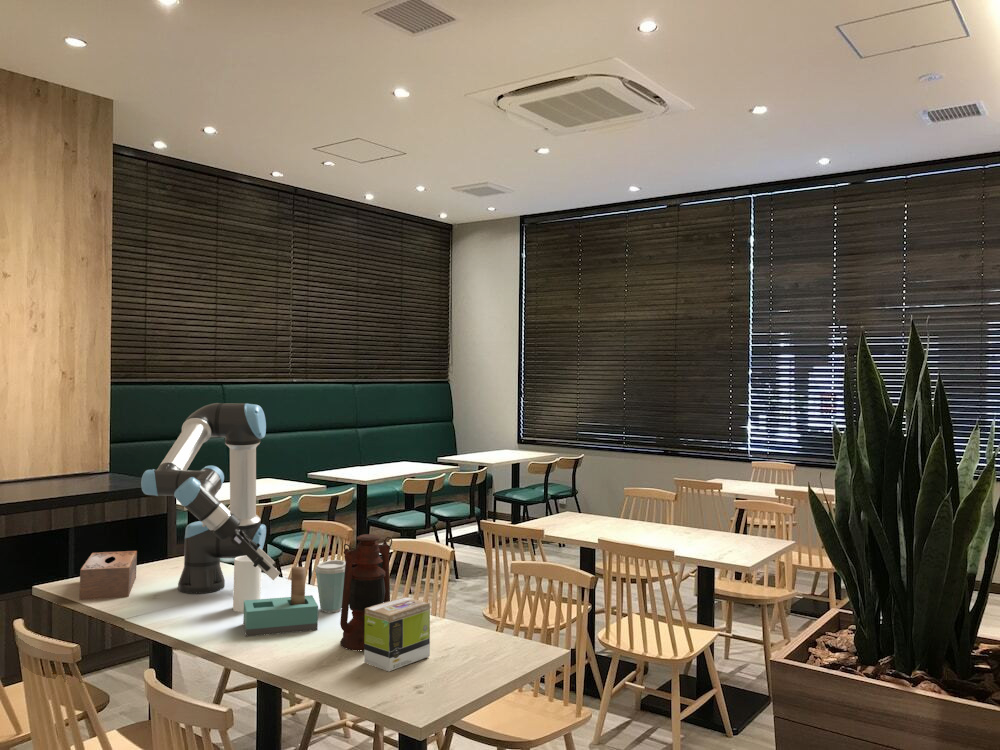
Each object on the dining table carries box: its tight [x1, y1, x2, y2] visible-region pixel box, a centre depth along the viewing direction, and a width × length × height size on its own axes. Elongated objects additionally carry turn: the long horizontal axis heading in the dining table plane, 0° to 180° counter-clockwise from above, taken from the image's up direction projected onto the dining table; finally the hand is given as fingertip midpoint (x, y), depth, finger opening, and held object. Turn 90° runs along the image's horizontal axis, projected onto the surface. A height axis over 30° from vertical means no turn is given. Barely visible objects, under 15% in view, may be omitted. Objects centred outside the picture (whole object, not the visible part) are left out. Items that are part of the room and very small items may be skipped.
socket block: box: [242, 594, 319, 637], centre depth 232 cm, size 12×20×7 cm, turn 112°
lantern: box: [339, 533, 393, 652], centre depth 220 cm, size 17×14×30 cm
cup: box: [232, 556, 262, 613], centre depth 249 cm, size 8×8×16 cm
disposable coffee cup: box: [314, 559, 346, 613], centre depth 250 cm, size 11×11×15 cm
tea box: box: [363, 596, 431, 672], centre depth 207 cm, size 15×10×15 cm
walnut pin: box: [290, 566, 307, 605], centre depth 234 cm, size 4×4×15 cm
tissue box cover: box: [79, 550, 138, 601], centre depth 268 cm, size 26×14×10 cm, turn 20°
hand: (274, 570), depth 231 cm, fingers open, 13 cm apart
